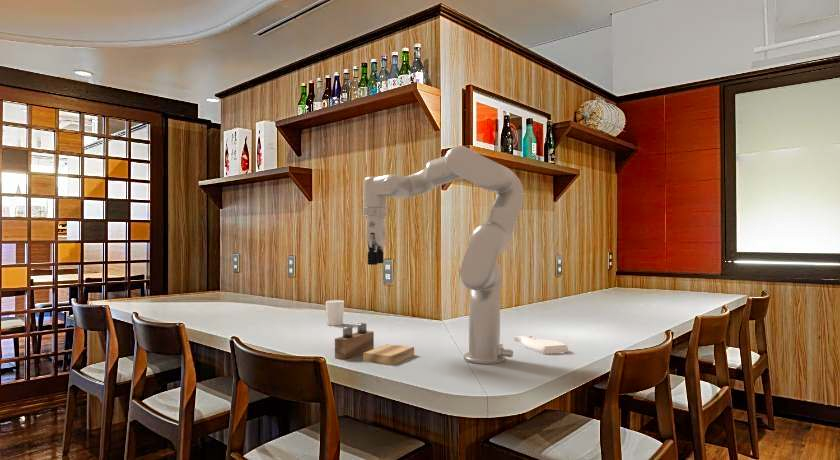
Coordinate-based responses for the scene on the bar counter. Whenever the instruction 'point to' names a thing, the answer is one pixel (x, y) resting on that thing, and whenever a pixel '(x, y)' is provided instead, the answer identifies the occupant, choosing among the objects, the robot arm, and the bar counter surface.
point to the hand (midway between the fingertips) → (375, 263)
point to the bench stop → (354, 342)
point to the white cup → (334, 312)
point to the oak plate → (388, 354)
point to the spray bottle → (542, 345)
